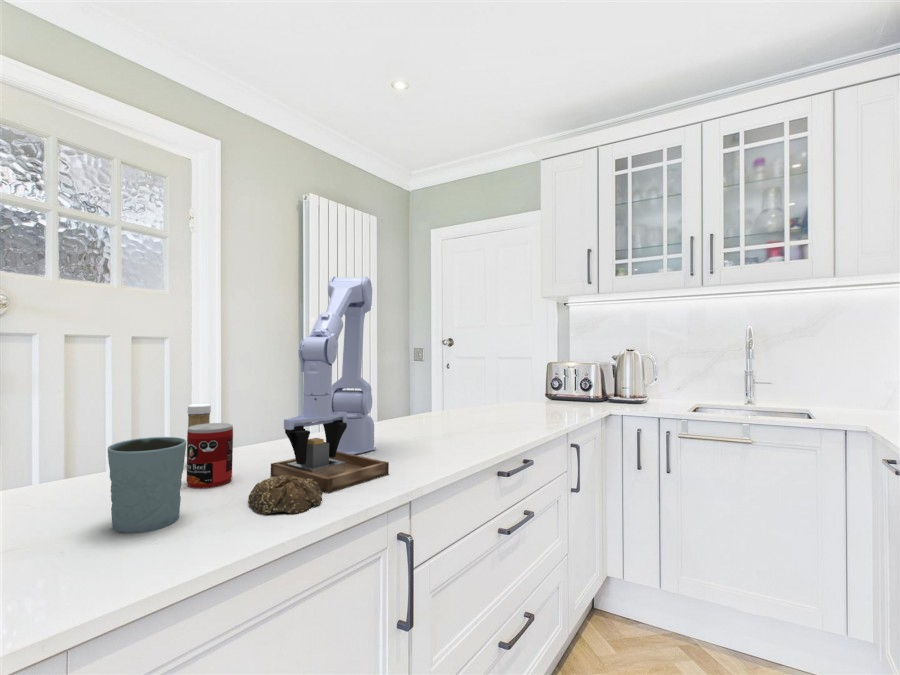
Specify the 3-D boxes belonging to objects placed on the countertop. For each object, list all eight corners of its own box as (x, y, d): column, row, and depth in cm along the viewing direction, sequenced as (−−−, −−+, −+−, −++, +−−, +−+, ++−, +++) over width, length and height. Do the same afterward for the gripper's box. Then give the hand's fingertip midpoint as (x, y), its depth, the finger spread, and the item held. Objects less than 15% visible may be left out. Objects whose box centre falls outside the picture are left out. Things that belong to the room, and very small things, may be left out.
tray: (332, 460, 110) (332, 450, 110) (388, 474, 100) (388, 462, 100) (270, 475, 97) (270, 463, 97) (327, 493, 87) (327, 479, 87)
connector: (316, 468, 101) (317, 436, 101) (328, 471, 99) (329, 439, 99) (300, 472, 98) (301, 439, 98) (312, 475, 96) (313, 442, 96)
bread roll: (250, 496, 86) (250, 468, 86) (321, 490, 90) (321, 463, 90) (244, 521, 73) (245, 489, 74) (326, 513, 77) (327, 482, 78)
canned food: (177, 485, 91) (178, 427, 91) (215, 475, 98) (216, 421, 98) (203, 491, 87) (204, 431, 87) (240, 480, 94) (241, 424, 94)
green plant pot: (170, 506, 79) (171, 434, 79) (196, 521, 72) (198, 442, 73) (96, 523, 71) (98, 443, 71) (118, 542, 65) (120, 454, 65)
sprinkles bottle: (212, 465, 105) (213, 404, 105) (190, 468, 102) (191, 406, 102) (206, 461, 108) (207, 402, 109) (183, 464, 105) (185, 404, 105)
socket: (319, 465, 104) (319, 456, 104) (345, 471, 99) (345, 462, 99) (286, 473, 97) (286, 463, 97) (312, 480, 92) (312, 470, 92)
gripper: (332, 390, 106) (331, 450, 106) (275, 395, 95) (273, 463, 95) (353, 392, 102) (353, 455, 102) (296, 398, 91) (295, 469, 90)
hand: (316, 459), depth 98 cm, fingers open, 7 cm apart
